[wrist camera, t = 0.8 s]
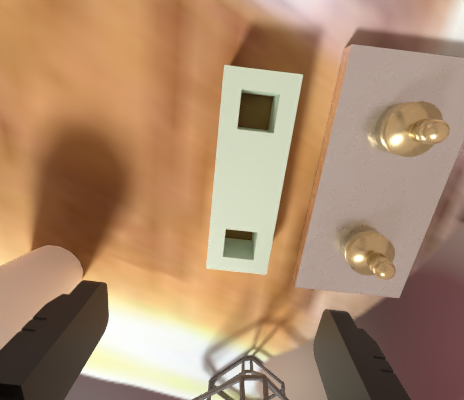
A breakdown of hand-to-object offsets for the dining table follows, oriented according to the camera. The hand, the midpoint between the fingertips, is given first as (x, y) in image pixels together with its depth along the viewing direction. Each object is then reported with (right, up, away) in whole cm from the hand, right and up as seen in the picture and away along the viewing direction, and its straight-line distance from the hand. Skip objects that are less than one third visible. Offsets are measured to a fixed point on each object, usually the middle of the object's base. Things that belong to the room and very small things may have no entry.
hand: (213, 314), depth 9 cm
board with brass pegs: (+15, +5, +17) cm, 23 cm away
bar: (+2, +7, +16) cm, 18 cm away
